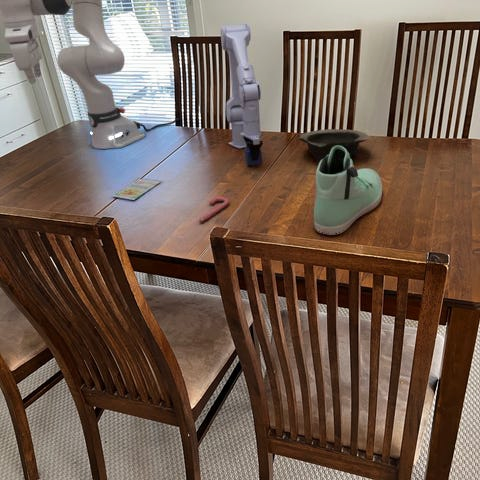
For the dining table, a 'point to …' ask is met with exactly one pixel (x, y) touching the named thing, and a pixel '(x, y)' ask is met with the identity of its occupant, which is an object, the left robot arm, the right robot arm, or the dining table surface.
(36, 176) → the dining table surface
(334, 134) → the stone bowl
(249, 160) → the cube
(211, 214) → the candy cane
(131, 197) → the baking ingredient package
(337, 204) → the sneaker
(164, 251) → the dining table surface
